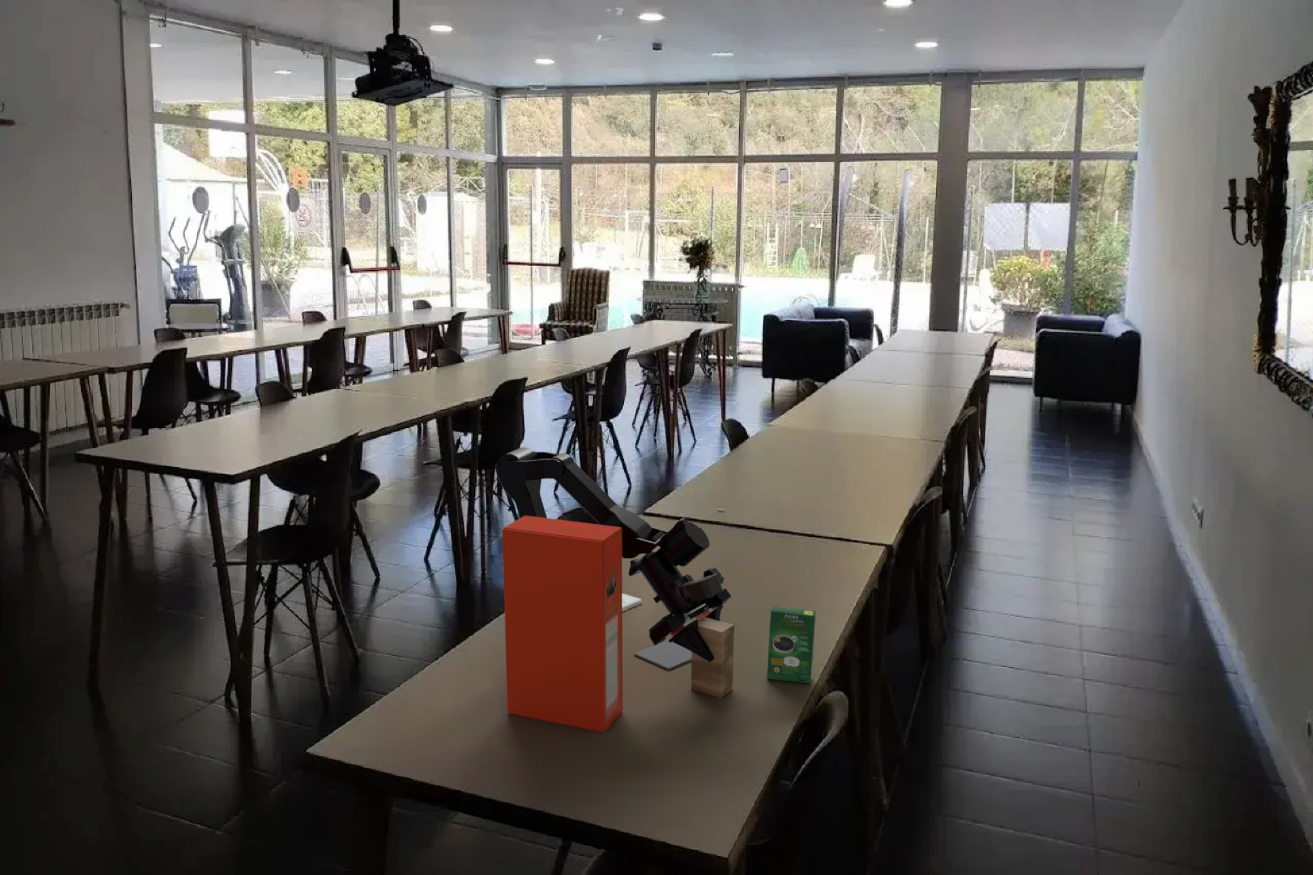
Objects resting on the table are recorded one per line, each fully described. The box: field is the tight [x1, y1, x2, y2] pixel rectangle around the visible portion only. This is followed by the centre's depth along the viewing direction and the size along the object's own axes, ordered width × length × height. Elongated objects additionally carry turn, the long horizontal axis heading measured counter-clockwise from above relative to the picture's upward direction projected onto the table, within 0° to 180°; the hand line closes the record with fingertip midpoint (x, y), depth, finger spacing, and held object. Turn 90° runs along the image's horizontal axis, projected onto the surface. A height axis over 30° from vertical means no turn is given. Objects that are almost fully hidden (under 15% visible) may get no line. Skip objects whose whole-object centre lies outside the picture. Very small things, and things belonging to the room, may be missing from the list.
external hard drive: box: [622, 592, 643, 613], centre depth 215 cm, size 2×8×12 cm
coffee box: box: [766, 605, 816, 685], centre depth 180 cm, size 8×3×13 cm, turn 77°
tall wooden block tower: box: [690, 617, 735, 699], centre depth 176 cm, size 4×6×12 cm, turn 55°
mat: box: [633, 638, 692, 671], centre depth 192 cm, size 12×9×1 cm
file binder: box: [501, 516, 624, 733], centre depth 165 cm, size 8×17×32 cm, turn 69°
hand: (719, 655), depth 175 cm, fingers open, 4 cm apart
